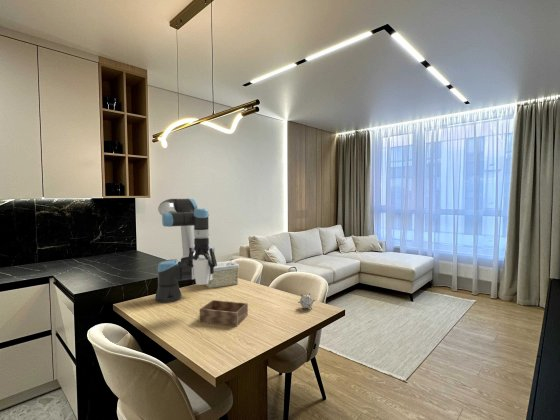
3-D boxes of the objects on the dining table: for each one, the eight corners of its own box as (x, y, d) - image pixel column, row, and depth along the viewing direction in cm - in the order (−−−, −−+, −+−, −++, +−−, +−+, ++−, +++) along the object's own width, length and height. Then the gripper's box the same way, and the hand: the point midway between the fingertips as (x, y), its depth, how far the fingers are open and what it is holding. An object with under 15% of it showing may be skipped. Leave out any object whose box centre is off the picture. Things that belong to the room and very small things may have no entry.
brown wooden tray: (199, 322, 149) (199, 309, 149) (213, 311, 163) (213, 300, 163) (237, 326, 144) (237, 313, 144) (247, 315, 158) (247, 303, 157)
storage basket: (206, 289, 204) (206, 267, 204) (201, 283, 219) (201, 263, 218) (240, 284, 215) (239, 264, 214) (233, 279, 229) (232, 260, 229)
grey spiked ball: (303, 315, 167) (292, 300, 169) (311, 306, 173) (301, 291, 174) (312, 311, 161) (301, 296, 162) (320, 302, 167) (310, 287, 168)
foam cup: (206, 285, 155) (205, 260, 155) (189, 285, 157) (189, 260, 157) (214, 281, 164) (213, 257, 164) (198, 280, 166) (198, 257, 166)
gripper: (179, 237, 160) (180, 279, 160) (216, 238, 154) (217, 282, 154) (187, 236, 167) (188, 276, 167) (223, 237, 161) (224, 278, 161)
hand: (202, 279), depth 161 cm, fingers closed on foam cup, 9 cm apart
